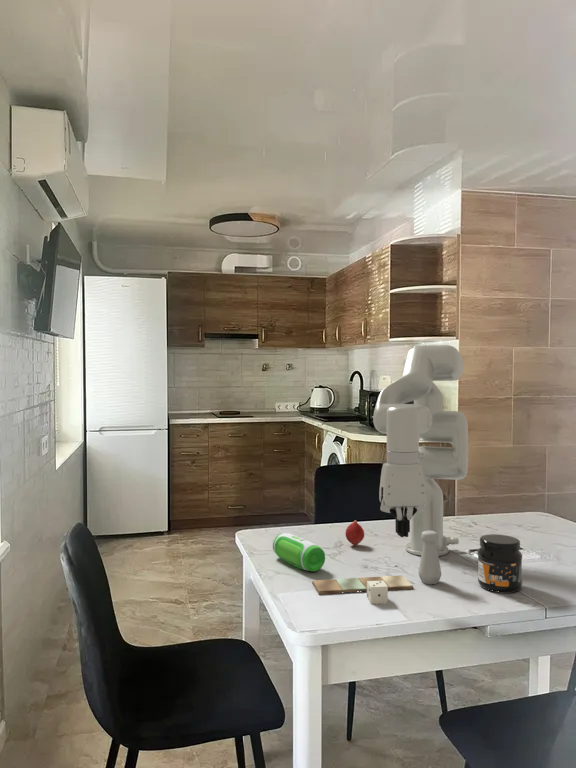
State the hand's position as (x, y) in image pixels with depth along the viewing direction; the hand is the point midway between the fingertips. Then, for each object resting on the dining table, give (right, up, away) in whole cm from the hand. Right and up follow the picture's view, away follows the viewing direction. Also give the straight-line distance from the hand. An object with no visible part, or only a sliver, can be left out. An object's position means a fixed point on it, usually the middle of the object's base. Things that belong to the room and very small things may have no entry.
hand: (402, 535), depth 140 cm
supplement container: (+26, -15, +8) cm, 31 cm away
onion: (-6, -15, +45) cm, 48 cm away
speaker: (-24, -15, +26) cm, 39 cm away
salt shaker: (+9, -15, +12) cm, 21 cm away
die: (-6, -15, -1) cm, 16 cm away
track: (-9, -15, +9) cm, 19 cm away
